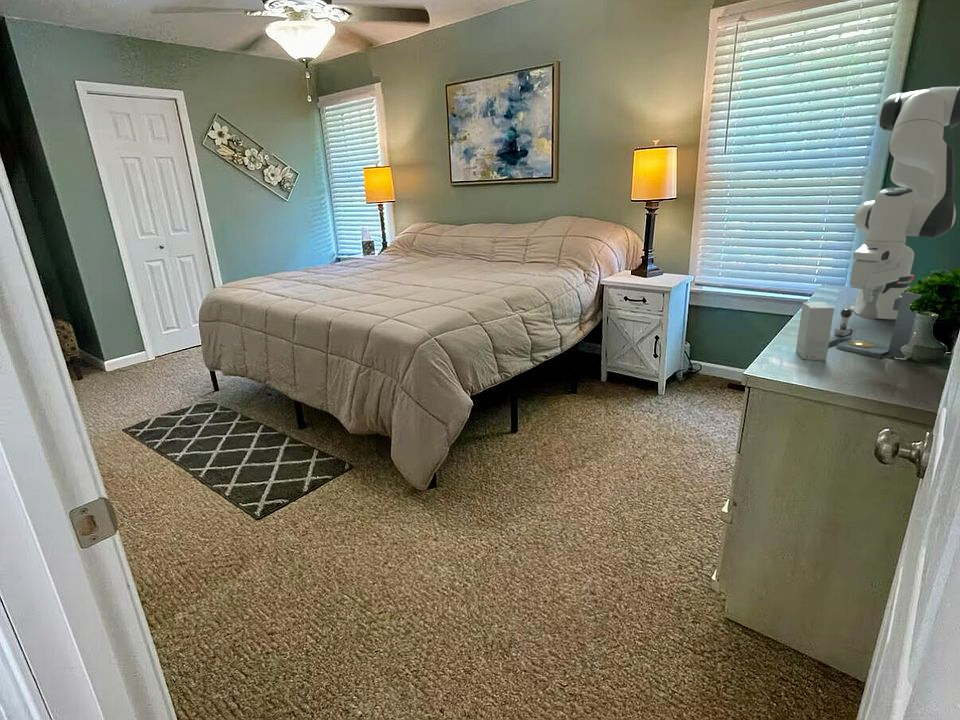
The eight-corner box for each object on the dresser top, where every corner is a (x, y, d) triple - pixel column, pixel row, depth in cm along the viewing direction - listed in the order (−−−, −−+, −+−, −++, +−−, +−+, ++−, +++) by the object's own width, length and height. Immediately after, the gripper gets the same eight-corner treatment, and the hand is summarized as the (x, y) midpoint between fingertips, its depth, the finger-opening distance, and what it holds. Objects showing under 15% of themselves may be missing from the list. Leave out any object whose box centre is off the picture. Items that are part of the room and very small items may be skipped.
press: (840, 336, 158) (852, 279, 152) (920, 353, 141) (937, 290, 135) (813, 345, 151) (825, 285, 145) (894, 364, 134) (910, 298, 128)
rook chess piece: (854, 315, 146) (860, 288, 143) (869, 314, 146) (875, 287, 143) (865, 319, 142) (872, 291, 139) (881, 318, 142) (888, 290, 139)
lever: (840, 331, 157) (845, 306, 154) (850, 333, 155) (855, 308, 152) (833, 333, 155) (838, 309, 152) (843, 335, 153) (848, 310, 150)
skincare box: (826, 361, 139) (837, 308, 134) (801, 359, 141) (810, 307, 136) (817, 351, 146) (827, 301, 141) (793, 350, 148) (802, 300, 143)
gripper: (887, 246, 145) (877, 293, 150) (850, 253, 136) (839, 303, 140) (914, 248, 140) (902, 297, 145) (877, 255, 130) (865, 308, 135)
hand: (871, 300), depth 142 cm, fingers closed on rook chess piece, 3 cm apart
